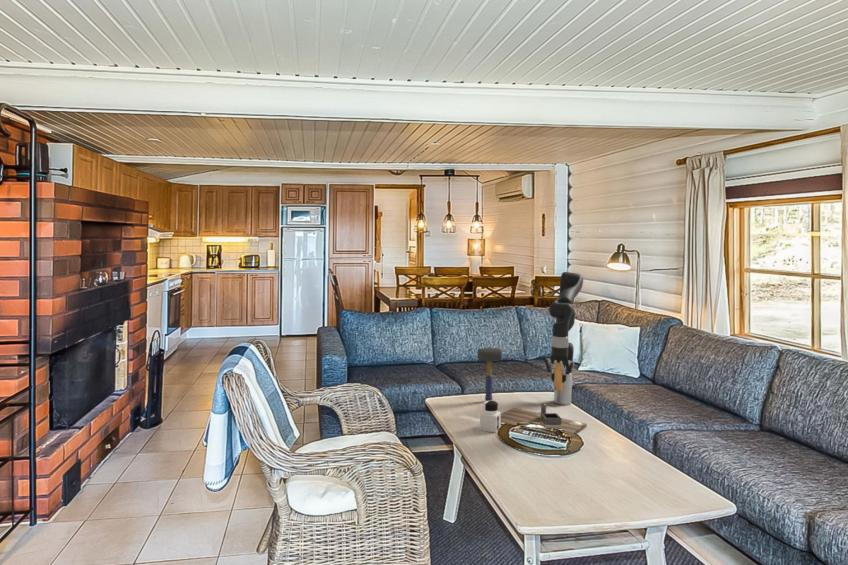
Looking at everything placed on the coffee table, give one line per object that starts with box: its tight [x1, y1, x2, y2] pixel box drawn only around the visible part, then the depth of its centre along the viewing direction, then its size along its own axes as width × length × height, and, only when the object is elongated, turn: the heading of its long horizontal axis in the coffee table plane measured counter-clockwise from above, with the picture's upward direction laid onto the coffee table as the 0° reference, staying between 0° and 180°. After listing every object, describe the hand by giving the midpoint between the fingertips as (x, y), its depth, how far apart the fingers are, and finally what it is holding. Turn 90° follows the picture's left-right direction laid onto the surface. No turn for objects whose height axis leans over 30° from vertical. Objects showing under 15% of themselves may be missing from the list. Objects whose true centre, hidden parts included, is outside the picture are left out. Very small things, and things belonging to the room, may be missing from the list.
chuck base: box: [500, 407, 588, 436], centre depth 257 cm, size 24×39×2 cm, turn 52°
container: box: [479, 400, 502, 433], centre depth 250 cm, size 8×8×13 cm
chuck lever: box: [536, 402, 562, 429], centre depth 254 cm, size 19×8×7 cm, turn 3°
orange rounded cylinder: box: [553, 362, 563, 391], centre depth 249 cm, size 4×4×13 cm
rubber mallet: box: [477, 347, 503, 401], centre depth 292 cm, size 12×8×30 cm, turn 97°
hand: (558, 381), depth 250 cm, fingers closed on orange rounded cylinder, 4 cm apart
